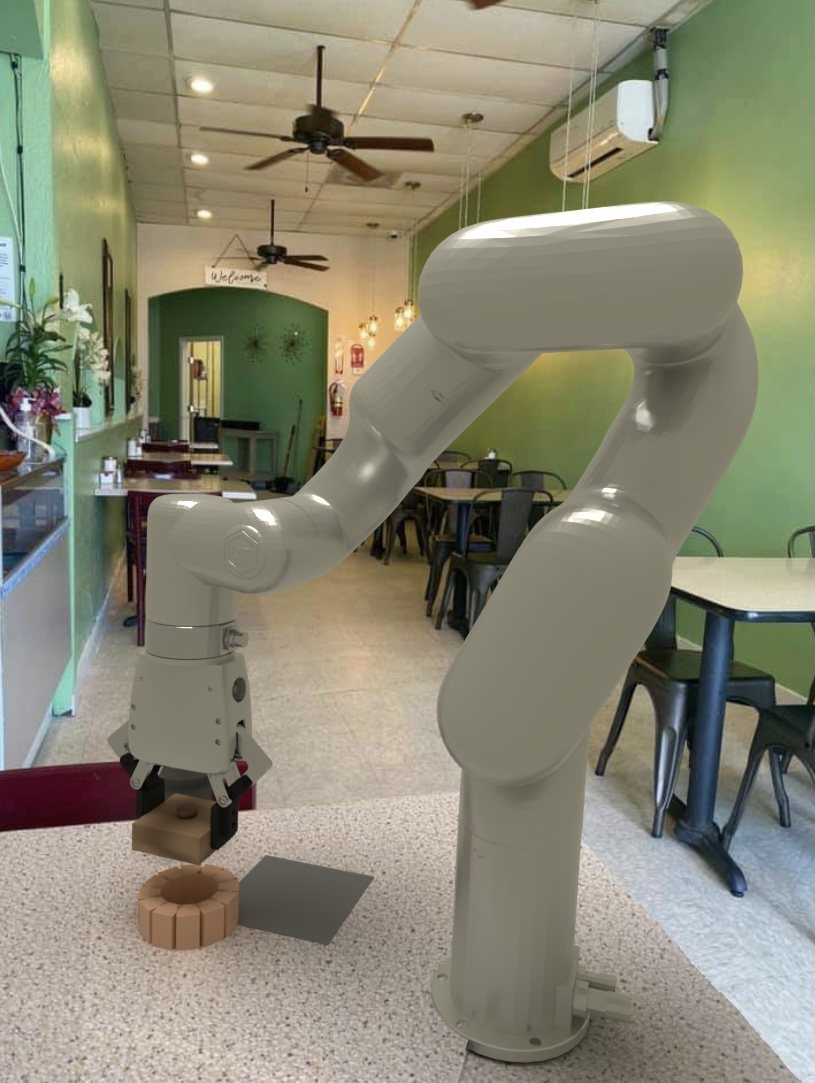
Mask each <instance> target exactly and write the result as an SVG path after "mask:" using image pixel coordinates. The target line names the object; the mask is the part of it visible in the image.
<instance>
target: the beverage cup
mask: <svg viewBox="0 0 815 1083" xmlns="http://www.w3.org/2000/svg"><path fill="white" fill-rule="evenodd" d="M159 778H164V782H165V800H167V799H168V798H169V797H171V796H172V795H174V794H175V793H177V794H182V795H187V796H192V797H196V798H201V799H206V800H211V801H214V792H213V789H212V786H211V783H210V781H209V778H208V775H207V774H201V773H196V772H190V771H185V770H180V769H175V768H169V767H164V766H163V768H162V770H161V772H160V774H159Z"/></svg>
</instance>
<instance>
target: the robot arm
mask: <svg viewBox="0 0 815 1083" xmlns="http://www.w3.org/2000/svg"><path fill="white" fill-rule="evenodd" d="M743 263H744V262H743V255H742V252H741V249H740V245H739V242H738V241H737V239H736V237H735V235H734V233H733V232H732V230H731V228H729V226H728V225H727V224H726V223H725V221H723V220H722V219H721V218H720V217H718V216H717V215H715V214H713V212H711V211H709V210H707V209H706V208H702V207H700V206H697V205H695V204H691V203H686V202H679V201H669V200H667V201H664V200H663V201H662V200H661V201H647V202H635V203H634V202H633V203H625V204H624V203H623V204H617V205H616V204H615V205H609V206H608V205H607V206H600V207H593V208H592V207H591V208H584V209H575V210H567V211H566V210H565V211H558V212H557V211H556V212H548V213H547V212H546V213H539V214H530V215H521V216H518V215H517V216H512V217H511V216H510V217H505V218H504V217H503V218H497V219H491V220H486V221H481V222H478V223H474V224H471V225H468V226H465V227H463V228H461V229H459V230H457V231H455V232H453V233H452V234H450V235H449V236H447V237H445V239H444V240H442V241H441V242H440V243H439V244H438V245H437V246H436V247H435V248H434V249H433V250H432V252H431V253H430V254H429V257H428V258H427V260H426V262H425V263H424V266H423V267H422V271H421V273H420V275H419V280H418V286H417V306H418V310H419V312H420V313H419V315H418V316H417V317H416V318H415V319H414V320H413V322H411V324H409V326H407V328H406V329H404V331H403V332H402V333H401V334H400V335H399V336H398V337H397V339H395V340H394V342H392V344H391V345H390V346H389V347H388V348H387V349H386V350H385V351H384V352H383V353H382V354H381V355H380V356H379V357H378V358H377V359H376V360H375V361H374V362H373V364H371V365H370V367H369V368H368V369H367V370H365V371H364V373H362V375H361V376H359V378H358V379H357V380H356V381H355V383H354V384H353V386H352V388H351V390H350V394H349V400H348V401H349V402H348V405H349V406H348V407H349V410H348V411H349V419H348V420H349V421H348V426H347V429H346V432H345V434H344V436H343V438H342V440H341V442H340V444H339V446H338V447H337V448H336V450H335V451H334V453H333V454H332V455H331V456H330V457H329V459H328V460H327V461H326V462H325V463H324V464H323V465H322V467H321V468H320V469H319V470H318V471H317V472H316V473H315V475H313V476H312V477H311V478H310V479H309V480H308V481H307V482H306V483H305V484H304V485H303V486H302V487H301V488H300V489H299V491H297V492H296V493H294V495H292V496H286V497H279V498H278V497H277V498H269V499H264V500H263V499H262V500H255V501H245V502H233V501H232V500H231V499H229V498H227V497H223V496H219V495H214V494H202V493H200V494H199V493H171V494H170V493H169V494H164V495H159V496H157V497H156V498H155V499H153V501H152V502H151V503H150V504H149V507H148V511H147V520H146V522H147V524H146V566H145V567H146V571H145V572H146V575H145V576H146V578H145V582H146V583H145V626H144V627H145V628H144V629H145V633H144V634H145V635H144V648H142V650H140V651H139V652H138V653H139V655H138V658H137V661H136V665H135V669H134V674H133V679H132V685H131V692H130V701H129V711H128V720H127V721H126V722H124V723H123V724H122V725H121V726H120V727H119V728H117V729H116V730H115V731H114V732H112V733H111V734H110V735H109V736H108V737H107V745H109V747H110V748H111V749H112V751H113V752H114V754H115V756H116V758H119V763H120V765H121V767H122V769H123V770H124V771H125V772H126V773H127V775H128V776H129V778H130V779H129V784H130V787H132V789H134V790H136V798H135V799H136V801H135V802H136V803H135V806H136V810H135V812H136V813H135V814H136V815H135V816H136V818H137V820H138V819H139V818H141V817H142V816H144V815H146V814H147V813H149V812H150V811H152V810H153V809H155V808H156V807H157V806H159V805H160V804H162V803H163V802H165V782H164V778H159V774H160V772H161V770H162V768H163V766H164V767H169V768H175V769H180V770H185V771H190V772H196V773H201V774H207V775H208V778H209V781H210V783H211V786H212V789H213V792H214V793H213V795H214V796H215V799H216V803H215V804H214V805H213V806H212V807H211V818H210V829H211V849H214V850H216V851H219V850H220V849H222V847H224V845H226V844H227V843H228V842H229V841H231V839H232V838H233V837H234V836H235V835H236V833H237V832H238V831H237V828H238V829H239V809H238V806H239V801H240V800H239V797H241V796H242V795H243V794H244V793H245V792H246V791H248V790H249V789H250V788H251V787H253V786H254V785H255V784H256V783H257V782H258V781H259V780H260V779H261V778H262V777H263V776H264V775H266V774H267V773H268V772H269V771H270V770H271V769H272V768H273V765H274V764H273V761H272V759H271V758H270V757H269V756H268V755H267V753H266V752H265V751H264V750H263V748H262V747H260V745H259V744H258V742H257V741H256V740H255V739H254V738H253V721H252V719H253V715H252V713H253V712H252V699H251V690H250V689H251V688H250V681H249V680H250V679H249V675H248V669H247V664H246V660H245V655H244V653H242V652H241V653H240V652H236V650H237V648H246V647H247V645H248V644H249V638H250V637H249V634H248V632H246V631H241V630H240V629H239V628H238V624H239V623H238V622H239V621H238V619H237V618H236V617H237V603H238V602H237V600H238V599H237V598H238V593H240V594H244V595H250V596H268V595H273V594H276V593H279V592H282V591H286V590H289V589H290V588H291V589H292V588H293V587H296V586H297V585H300V584H303V583H306V582H309V581H312V580H316V579H318V578H320V577H322V576H324V575H326V574H328V573H329V572H331V571H332V570H334V569H335V568H337V567H338V566H339V565H340V564H341V563H342V562H343V561H345V559H347V558H348V557H349V556H350V555H351V554H352V553H353V552H354V551H355V550H356V549H357V548H358V547H359V546H360V545H361V544H362V543H363V542H364V541H365V540H366V539H367V538H368V537H369V536H370V535H372V534H373V532H375V530H377V529H378V527H380V526H381V525H382V524H383V522H385V521H386V520H387V518H388V517H389V516H390V515H391V514H392V513H393V512H394V511H395V509H396V508H397V507H398V506H399V505H400V503H401V502H402V501H403V500H404V499H405V497H406V496H407V495H408V494H409V492H410V491H411V490H412V489H413V487H415V485H417V483H419V481H420V480H421V479H422V478H423V476H424V474H425V473H426V471H427V470H428V469H429V467H430V466H431V464H433V462H434V461H435V460H436V459H437V458H438V457H439V456H440V455H441V454H442V453H444V451H445V450H446V449H448V447H450V445H451V444H452V443H453V442H454V441H455V440H457V438H458V437H460V436H461V434H462V433H464V431H465V430H466V429H467V428H468V427H470V425H472V424H473V423H474V421H476V419H478V417H480V415H482V414H483V412H485V411H486V410H487V409H488V408H490V406H491V405H492V404H493V403H494V402H495V401H497V399H498V398H499V397H500V396H502V394H503V393H504V392H505V391H506V390H508V388H510V386H511V385H512V384H514V382H515V381H516V380H518V379H519V378H520V376H522V375H523V374H524V372H526V370H528V368H530V367H531V365H533V364H534V363H535V361H537V359H538V358H539V357H540V356H541V355H542V354H549V353H550V354H551V353H572V352H573V353H574V352H576V353H577V352H589V351H590V352H592V351H609V350H625V351H626V352H627V354H628V355H629V357H630V358H631V361H632V363H633V380H632V386H631V388H630V391H629V394H628V396H627V397H626V399H625V401H624V402H623V405H622V406H621V409H620V410H619V412H618V413H617V415H616V417H615V418H614V419H613V421H612V423H611V424H610V426H609V427H608V429H607V431H606V433H605V434H604V438H603V439H602V442H601V443H600V445H599V447H598V449H597V451H596V452H595V454H594V456H593V457H592V458H591V461H590V462H589V464H588V465H587V467H586V469H585V471H584V472H583V474H582V476H581V477H580V479H579V480H578V482H577V484H576V485H575V487H574V488H573V489H572V490H571V492H570V494H569V495H567V498H566V499H565V500H564V501H563V502H562V503H561V504H559V505H558V506H556V507H555V508H553V509H551V510H550V511H549V512H547V513H546V514H545V515H543V517H542V518H541V519H540V520H538V521H537V522H536V523H535V525H534V526H533V527H532V528H531V530H530V532H528V534H527V535H526V537H525V539H524V540H523V542H522V543H521V544H520V546H519V548H518V549H517V551H516V553H515V554H514V556H513V557H512V559H511V561H510V563H509V564H508V566H507V567H506V569H505V571H504V573H503V574H502V576H501V577H500V580H499V581H498V583H497V585H496V586H495V588H494V590H493V591H492V593H491V595H490V597H489V598H488V600H487V602H486V604H485V605H484V606H483V609H482V610H481V612H480V614H479V615H478V617H477V619H476V621H475V622H474V624H473V626H472V627H471V629H470V631H469V633H468V634H467V636H466V637H465V640H464V642H463V643H462V644H461V646H460V647H459V650H458V652H457V653H456V655H455V657H454V658H453V660H452V661H451V663H450V666H449V667H448V669H447V671H446V673H445V675H444V677H443V679H442V681H441V684H440V686H439V687H440V688H439V690H438V695H437V700H436V720H437V727H438V733H439V735H440V738H441V740H442V743H443V745H444V747H445V749H446V751H447V752H448V754H449V756H450V757H451V759H452V760H453V761H454V762H455V763H456V764H457V766H458V767H459V768H460V769H461V770H460V771H461V773H460V784H459V799H458V800H459V801H458V815H457V835H456V853H455V856H456V858H455V873H454V874H455V876H454V892H453V894H454V896H453V897H454V898H453V916H452V938H451V953H450V954H451V956H450V957H448V958H447V959H446V960H445V961H444V962H442V963H441V964H440V965H439V966H438V968H437V969H436V970H435V972H434V974H433V976H432V979H431V982H430V999H431V1002H432V1003H431V1004H432V1005H433V1008H434V1009H435V1012H436V1014H437V1015H438V1017H439V1018H440V1020H442V1021H443V1022H444V1024H445V1025H446V1026H447V1027H449V1028H450V1030H452V1031H453V1032H454V1033H456V1034H457V1035H458V1036H461V1037H462V1038H463V1039H465V1040H467V1042H466V1045H465V1048H467V1049H468V1050H470V1051H473V1052H474V1053H476V1054H478V1055H482V1056H484V1057H488V1058H489V1059H492V1060H498V1061H499V1060H500V1061H504V1062H511V1063H534V1062H544V1061H546V1060H551V1059H555V1058H558V1057H559V1056H562V1055H563V1054H564V1055H565V1054H566V1053H567V1052H570V1051H572V1049H573V1048H575V1047H576V1046H577V1045H578V1044H580V1043H581V1041H582V1040H583V1038H584V1037H585V1036H586V1034H587V1031H588V1028H589V1025H590V1016H591V1015H592V1016H597V1017H601V1018H605V1020H610V1021H613V1022H618V1023H622V1024H627V1025H630V1022H631V1009H632V1007H631V1006H632V995H630V994H625V993H620V992H616V989H617V976H616V975H612V974H608V973H603V972H595V971H590V970H587V966H584V965H580V954H581V947H580V946H578V945H575V938H576V937H575V935H576V925H577V924H576V921H577V908H578V907H577V906H578V891H579V877H580V865H581V864H580V863H581V862H580V860H581V848H582V847H581V845H582V832H583V826H584V811H585V810H584V809H585V795H586V783H587V772H588V759H589V758H588V756H589V748H590V739H591V727H592V725H593V722H594V721H595V719H596V718H597V717H598V715H599V713H600V712H601V710H602V709H603V707H604V706H605V704H606V702H607V701H608V700H609V698H610V696H611V695H612V693H614V690H615V689H616V687H617V685H618V684H619V683H620V682H621V679H622V678H623V677H624V675H625V673H626V672H627V670H628V669H629V667H630V666H631V664H632V663H633V661H634V659H635V658H636V656H637V655H638V654H639V652H640V650H641V648H642V647H643V645H644V644H645V643H646V642H647V639H648V638H649V636H650V634H651V633H652V631H653V629H654V628H655V625H656V624H657V622H658V620H659V619H660V616H661V614H662V612H663V611H664V608H665V606H666V603H667V601H668V598H669V594H670V591H671V588H672V581H673V565H674V562H675V560H676V557H677V556H678V554H679V552H680V551H681V549H682V547H683V545H684V543H685V541H686V540H687V538H688V536H689V535H690V533H691V532H692V530H693V528H694V526H695V525H696V524H697V522H698V520H699V519H700V517H701V515H702V514H703V512H704V510H705V509H706V508H707V505H708V504H709V502H710V501H711V499H712V497H713V495H714V493H715V491H716V490H717V488H718V486H719V485H720V483H721V481H722V480H723V478H724V476H725V474H726V472H727V470H728V469H729V468H730V465H731V464H732V462H733V461H734V459H735V457H736V455H737V453H738V451H739V450H740V447H741V446H742V443H743V441H744V439H745V437H746V434H747V433H748V430H749V427H750V425H751V423H752V419H753V416H754V413H755V410H756V409H755V408H756V405H757V401H758V400H757V399H758V393H759V392H758V391H759V364H758V363H759V362H758V361H759V360H758V354H757V350H756V349H757V348H756V344H755V340H754V336H753V334H752V331H751V328H750V327H749V324H748V322H747V319H746V316H745V315H744V312H743V311H742V309H741V306H740V304H739V303H738V299H739V297H740V294H741V290H742V287H743V286H742V284H743V278H744V265H743ZM241 760H242V761H243V760H244V761H245V763H246V764H247V770H246V771H244V773H243V774H242V775H241V773H240V771H239V768H238V765H237V763H236V761H241ZM236 831H237V832H236ZM440 977H444V978H446V979H444V980H441V979H440ZM458 1024H465V1025H466V1026H465V1027H460V1026H458Z"/></svg>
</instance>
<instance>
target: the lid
mask: <svg viewBox="0 0 815 1083" xmlns="http://www.w3.org/2000/svg"><path fill="white" fill-rule="evenodd" d="M216 802H217V800H216V801H215V800H213V801H211V800H206V799H201V798H196V797H192V796H187V795H182V794H177V793H175V794H174V795H172V796H171V797H169V798H168V799H167V800H165V802H163V803H162V804H160V805H159V806H157V807H156V808H155V809H153V810H152V811H150V812H149V813H147V814H146V815H144V816H142V817H141V818H139V819H138V820H135V821H134V822H132V824H131V850H132V851H135V852H139V853H145V854H147V855H152V856H157V857H161V858H165V859H170V860H175V861H179V862H182V863H183V862H184V863H187V864H190V865H191V864H196V865H200V864H203V863H204V862H205V861H206V860H207V859H208V858H209V857H210V856H211V855H212V854H214V853H215V852H217V850H214V849H211V829H210V818H211V807H212V806H213V805H214V804H215V803H216ZM239 807H240V805H238V810H239ZM237 832H239V827H238V828H237V831H236V833H237Z"/></svg>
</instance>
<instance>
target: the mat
mask: <svg viewBox="0 0 815 1083" xmlns="http://www.w3.org/2000/svg"><path fill="white" fill-rule="evenodd" d="M374 878H375V876H372V875H367V874H363V873H357V872H353V871H348V870H344V869H343V870H342V869H338V868H332V867H328V866H322V865H318V864H313V863H308V862H303V861H297V860H294V859H293V860H292V859H287V858H282V857H278V856H272V855H268V854H267V855H266V854H265V856H263V857H262V858H261V860H259V862H257V863H256V864H255V866H253V867H252V868H251V869H250V871H248V873H247V874H246V875H244V877H243V878H242V879H241V880H239V922H238V925H239V926H243V927H247V928H252V929H255V930H260V931H264V932H269V933H273V934H278V935H281V936H285V937H290V938H295V939H299V940H304V941H308V942H312V943H316V944H321V945H324V946H329V944H330V943H331V942H332V940H333V939H334V937H335V935H336V934H337V932H339V930H340V928H341V927H342V925H343V924H344V923H345V921H346V920H347V918H348V916H349V915H350V914H351V912H352V911H353V909H354V908H355V906H356V905H357V904H358V902H359V900H360V899H361V898H362V896H363V894H364V893H365V891H366V890H367V889H368V887H369V885H370V884H371V882H372V881H373V880H374ZM238 925H237V926H238Z"/></svg>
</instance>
